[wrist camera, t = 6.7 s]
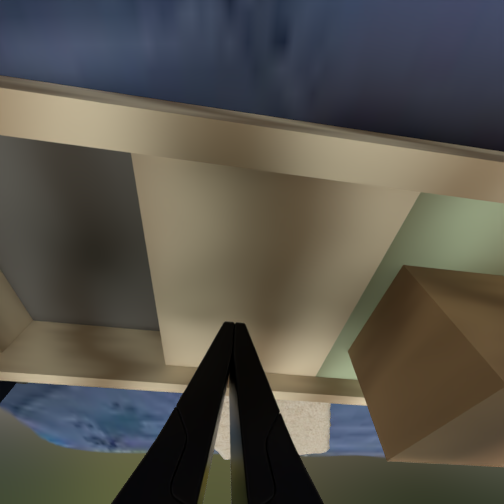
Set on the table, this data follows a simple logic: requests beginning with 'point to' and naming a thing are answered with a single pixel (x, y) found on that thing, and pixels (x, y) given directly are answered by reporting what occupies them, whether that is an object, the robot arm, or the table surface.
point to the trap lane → (216, 236)
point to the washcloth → (288, 426)
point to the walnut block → (436, 367)
